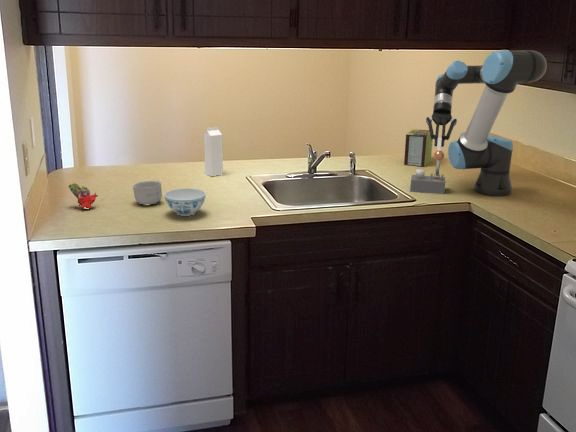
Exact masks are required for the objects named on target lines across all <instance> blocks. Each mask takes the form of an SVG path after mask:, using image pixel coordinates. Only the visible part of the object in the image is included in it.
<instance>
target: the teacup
mask: <svg viewBox="0 0 576 432" xmlns="http://www.w3.org/2000/svg"><path fill="white" fill-rule="evenodd" d="M132 189H133V196H134V199H135V201H136V202H137V203H138V204H140V205H141V204H154V205H156V204H158V203H159V202H160V200H161V199H162V197H163V196H162V195H163V192H162V182H160V181H159V179H155V180H142V181H139V182H136V183H133V185H132ZM157 202H158V203H157ZM155 203H156V204H155Z"/></svg>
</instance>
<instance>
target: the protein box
mask: <svg viewBox="0 0 576 432" xmlns="http://www.w3.org/2000/svg"><path fill="white" fill-rule="evenodd" d="M433 140H434V139H431V137H430V132H429V129H428V130H426V129H418V128H412V130H410V131H408V132H407V133H406V134H405V145H404V159H403V162H404V163H403V166H409V167H410V166H411V167H412V166H413V167H420V168H425V167H426V166H427V165H428V164H429V163H430V162H431V161H432V151H433Z"/></svg>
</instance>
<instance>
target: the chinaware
mask: <svg viewBox="0 0 576 432" xmlns="http://www.w3.org/2000/svg"><path fill="white" fill-rule="evenodd" d="M206 193H207V192H205V190H203V189H199V188H189V187H188V188H186V187H185V188H175V189H171V190H168V191H166V192H165V193H164V195H163V196H164V200H165V202H166V204H167V206H168V208H169V209H170V210H172V211H173V212H174V213H176V215H177V214H178V215H181V216H189V217H191V216H190V215H193V216H194V215H196V212H197V211H198V210H199V209H201V208H202V206H203V205H204V203H205V199H206ZM178 215H177V216H178ZM181 216H180V217H181Z"/></svg>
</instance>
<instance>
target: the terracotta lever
mask: <svg viewBox="0 0 576 432" xmlns="http://www.w3.org/2000/svg"><path fill="white" fill-rule="evenodd" d="M433 157H434V159H435V160H436V165H435V173H433V176H434V178H436V179H440V177H441V174H440V169H441V168H440V166H441V161H442V160H443V159H444V158H445V154H444V152H443V151H442V150H441V151H437V150H436V151H435V152H434V154H433Z"/></svg>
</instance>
